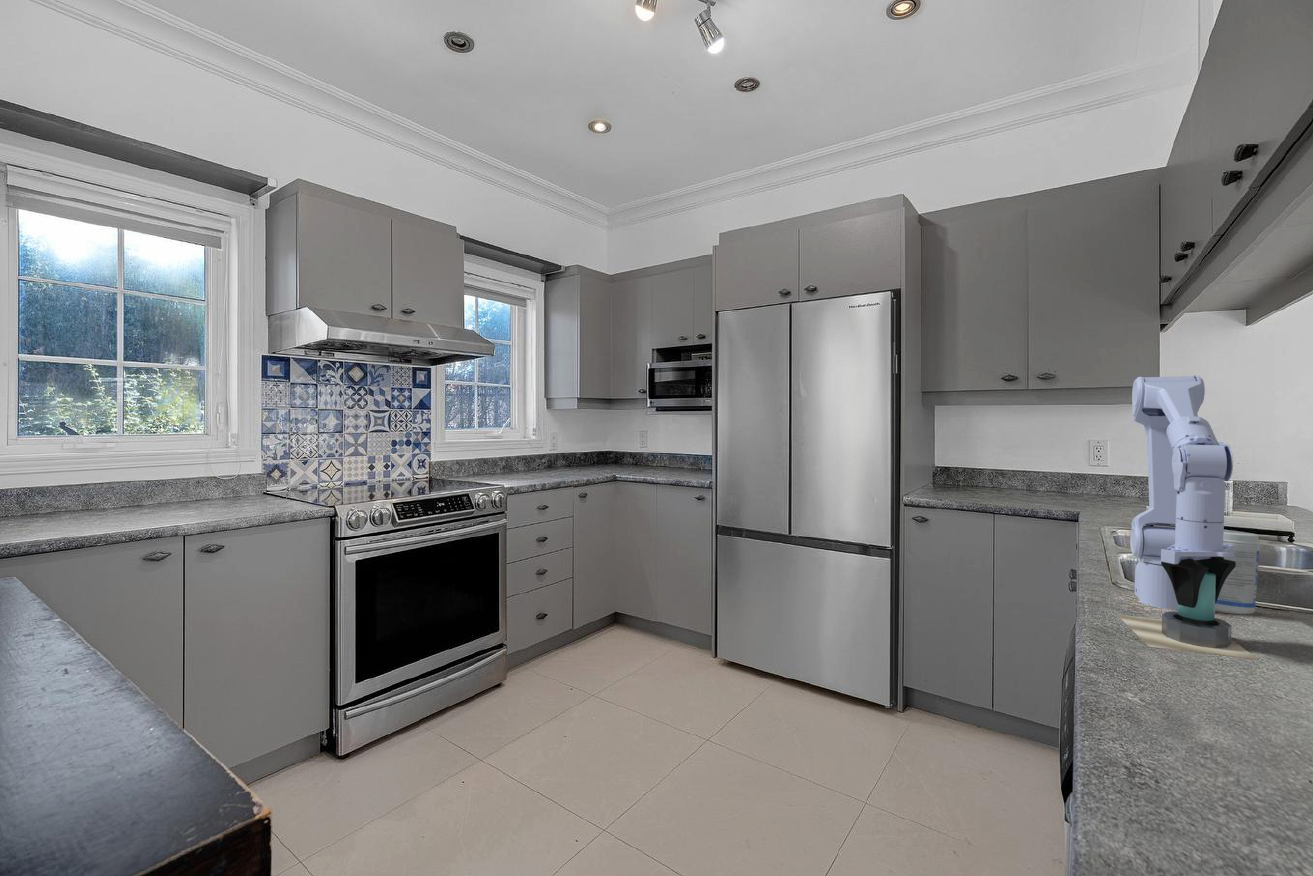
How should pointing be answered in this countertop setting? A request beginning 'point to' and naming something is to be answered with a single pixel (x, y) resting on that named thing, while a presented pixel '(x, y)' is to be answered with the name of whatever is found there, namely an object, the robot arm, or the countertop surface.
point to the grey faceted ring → (1196, 631)
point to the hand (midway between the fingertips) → (1196, 604)
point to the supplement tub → (1240, 574)
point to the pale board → (1155, 638)
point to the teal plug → (1202, 601)
